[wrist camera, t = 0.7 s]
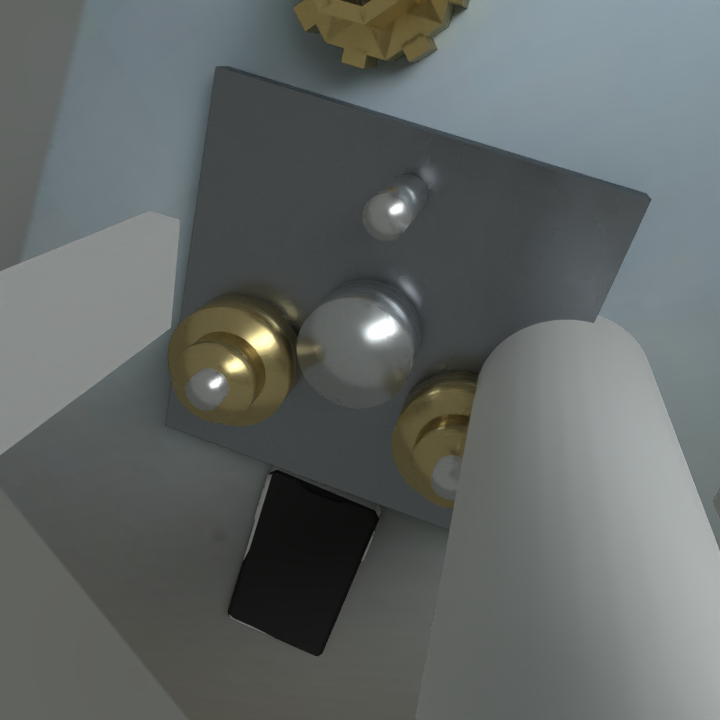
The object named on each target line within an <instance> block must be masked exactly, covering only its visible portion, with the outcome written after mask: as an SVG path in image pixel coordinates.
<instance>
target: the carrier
mask: <svg viewBox="0 0 720 720" xmlns="http://www.w3.org/2000/svg"><path fill="white" fill-rule="evenodd" d="M650 201H651V198H650V197H649V196H648V195H647V194H646V193H643V192H639V191H636V190H633V189H630V188H626V187H623V186H620V185H616V184H613V183H610V182H607V181H603V180H600V179H597V178H593V177H590V176H587V175H584V174H580V173H577V172H574V171H570V170H567V169H564V168H561V167H557V166H554V165H551V164H547V163H544V162H541V161H538V160H534V159H531V158H528V157H524V156H521V155H518V154H515V153H511V152H508V151H505V150H501V149H498V148H495V147H492V146H488V145H485V144H482V143H478V142H475V141H472V140H469V139H465V138H462V137H459V136H455V135H452V134H449V133H446V132H442V131H439V130H436V129H432V128H429V127H426V126H423V125H419V124H416V123H413V122H409V121H406V120H403V119H400V118H396V117H393V116H390V115H386V114H383V113H380V112H377V111H373V110H370V109H367V108H363V107H360V106H357V105H354V104H350V103H347V102H344V101H340V100H337V99H334V98H331V97H327V96H324V95H321V94H317V93H314V92H311V91H308V90H304V89H301V88H298V87H294V86H291V85H288V84H285V83H281V82H278V81H275V80H271V79H268V78H265V77H262V76H258V75H255V74H252V73H248V72H245V71H242V70H238V69H235V68H232V67H229V66H219V67H216V69H215V77H214V84H213V91H212V98H211V105H210V112H209V119H208V126H207V134H206V141H205V148H204V155H203V162H202V169H201V176H200V183H199V191H198V198H197V205H196V212H195V219H194V226H193V233H192V240H191V247H190V255H189V262H188V269H187V276H186V283H185V290H184V297H183V304H182V312H181V319H180V324H179V326H178V327H177V328H176V329H175V331H174V333H173V335H172V337H171V340H170V343H169V348H168V364H169V369H170V373H171V376H172V383H171V390H170V397H169V404H168V411H167V418H166V426H168V427H171V428H174V429H176V430H179V431H182V432H185V433H187V434H190V435H193V436H195V437H198V438H201V439H204V440H206V441H209V442H212V443H214V444H217V445H220V446H222V447H225V448H228V449H231V450H233V451H236V452H239V453H241V454H244V455H247V456H250V457H252V458H255V459H258V460H260V461H263V462H266V463H269V464H271V465H274V466H277V467H279V468H282V469H285V470H288V471H290V472H293V473H296V474H298V475H301V476H304V477H307V478H309V479H312V480H315V481H317V482H320V483H323V484H326V485H328V486H331V487H334V488H336V489H339V490H342V491H345V492H347V493H350V494H353V495H355V496H358V497H361V498H363V499H366V500H369V501H372V502H374V503H377V504H380V505H382V506H385V507H388V508H391V509H393V510H396V511H399V512H401V513H404V514H407V515H410V516H412V517H415V518H418V519H420V520H423V521H426V522H429V523H431V524H434V525H437V526H439V527H442V528H445V529H448V530H450V525H451V520H452V514H453V509H454V503H455V498H456V492H457V487H458V481H459V476H460V470H461V465H462V459H463V454H464V448H465V443H466V437H467V432H468V426H469V421H470V416H471V410H472V405H473V400H474V397H475V393H476V388H477V382H478V377H479V373H480V371H481V368H482V366H483V364H484V362H485V361H486V359H487V358H488V357H489V355H490V354H491V353H492V351H493V350H494V349H495V348H496V347H497V346H498V345H499V344H500V343H502V342H503V341H504V340H505V339H506V338H508V337H509V336H511V335H513V334H514V333H516V332H518V331H519V330H521V329H524V328H526V327H529V326H531V325H534V324H537V323H541V322H547V321H552V320H579V321H585V322H591V323H594V322H595V320H596V318H597V316H598V314H599V311H600V309H601V307H602V305H603V303H604V301H605V299H606V296H607V294H608V292H609V290H610V288H611V286H612V283H613V281H614V279H615V277H616V275H617V273H618V270H619V268H620V266H621V264H622V262H623V260H624V257H625V255H626V253H627V251H628V249H629V247H630V244H631V242H632V240H633V238H634V236H635V234H636V232H637V229H638V227H639V225H640V223H641V221H642V219H643V216H644V214H645V212H646V210H647V208H648V206H649V203H650Z"/></svg>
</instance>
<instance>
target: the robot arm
mask: <svg viewBox="0 0 720 720" xmlns="http://www.w3.org/2000/svg"><path fill="white" fill-rule="evenodd" d="M179 229H180V220H179V219H176V218H172V217H169V216H165V215H162V214H159V213H155V212H152V211H148V212H145V213H143V214H140V215H138V216H135V217H133V218H130V219H128V220H126V221H123V222H121V223H118V224H116V225H113V226H111V227H108V228H106V229H103V230H101V231H98V232H96V233H93V234H91V235H89V236H86V237H84V238H81V239H79V240H76V241H74V242H71V243H69V244H66V245H64V246H61V247H59V248H56V249H54V250H52V251H49V252H47V253H44V254H42V255H39V256H37V257H34V258H32V259H29V260H27V261H24V262H22V263H19V264H17V265H15V266H12V267H10V268H7V269H5V270H2V271H0V455H1V454H2V453H4V452H5V451H6V450H8V449H9V448H10V447H12V446H13V445H14V444H16V443H17V442H18V441H20V440H21V439H23V438H24V437H25V436H27V435H28V434H29V433H31V432H32V431H33V430H35V429H36V428H37V427H39V426H40V425H41V424H43V423H44V422H45V421H47V420H48V419H49V418H51V417H52V416H53V415H55V414H56V413H57V412H59V411H60V410H61V409H63V408H64V407H65V406H67V405H68V404H69V403H71V402H72V401H73V400H75V399H76V398H77V397H79V396H80V395H82V394H83V393H84V392H86V391H87V390H88V389H90V388H91V387H92V386H94V385H95V384H96V383H98V382H99V381H100V380H102V379H103V378H104V377H106V376H107V375H108V374H110V373H111V372H112V371H114V370H115V369H116V368H118V367H119V366H120V365H122V364H123V363H124V362H126V361H127V360H128V359H130V358H131V357H132V356H134V355H135V354H136V353H138V352H139V351H141V350H142V349H143V348H145V347H146V346H147V345H149V344H150V343H151V342H153V341H154V340H155V339H157V338H158V337H159V336H161V335H162V334H163V333H165V332H166V331H167V330H169V329H170V328H171V319H172V308H173V297H174V286H175V274H176V263H177V252H178V241H179ZM713 502H714V505H715V507H716V510H717V513H718V515H719V518H720V489H719V491H718V493H717V495H716V496H715V498H714V500H713Z"/></svg>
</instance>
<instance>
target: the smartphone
mask: <svg viewBox="0 0 720 720" xmlns="http://www.w3.org/2000/svg"><path fill="white" fill-rule="evenodd" d="M381 512H382V511H381V509H380V507H379V504H377V503H374V502H372V501H369V500H366V499H363V498H361V497H358V496H355V495H353V494H350V493H347V492H345V491H342V490H339V489H336V488H334V487H331V486H328V485H326V484H323V483H320V482H317V481H315V480H312V479H309V478H307V477H304V476H301V475H298V474H296V473H293V472H290V471H288V470H285V469H282V468H279V467H277V466H273V468H272V469H271V471H269V473H268V475H267V478H266V482H265V487H264V488H263V490H262V494H261V497H260V500H259V504H258V507H257V510H256V514H255V517H254V520H255V522H254V526H253V529H252V532H251V536H250V539H249V542H248V546H247V549H246V552H245V556H244V559H243V562H242V566H241V569H240V572H239V576H238V579H237V583H236V586H235V589H234V593H233V596H232V599H231V603H230V606H229V609H228V615H229V617H230V618H231V619H233V620H236V621H238V622H240V623H242V624H245V625H247V626H249V627H251V628H254V629H256V630H258V631H260V632H263V633H265V634H267V635H269V636H272V637H274V638H276V639H279V640H281V641H283V642H285V643H288V644H290V645H292V646H294V647H297V648H299V649H301V650H303V651H306V652H308V653H310V654H312V655H315V656H319V655H321V654H322V653H323V650H324V648H325V646H326V643H327V641H328V639H329V636H330V634H331V631H332V629H333V627H334V624H335V622H336V620H337V617H338V615H339V613H340V610H341V608H342V605H343V603H344V601H345V598H346V596H347V594H348V591H349V589H350V586H351V584H352V582H353V579H354V577H355V575H356V572H357V570H358V567H359V565H360V563H361V560H363V561H364V558H365V556H366V554H367V551H368V549H369V547H370V544H371V542H372V540H373V537H374V535H375V532H376V531H374V529H375V527H376V525H377V522H378V520H379V517H380V515H381Z"/></svg>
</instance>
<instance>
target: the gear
mask: <svg viewBox="0 0 720 720" xmlns="http://www.w3.org/2000/svg"><path fill="white" fill-rule="evenodd" d="M469 1H470V0H371V1H369V2H368V3H366V4H365V5H363V6H362V4H361V2H360V0H303V1H302V2H301V3H299V4H298V5H297V6H295V7H294V8H293V9H294V11H295V13H296V15H297V17H298V19H299V21H300V23H301V24H302V26H303V28H304V30H305V31H306V32H313V33H320V34H321V35H322V37H323V38H324V40H325V42H326V43H328V44H332V45H335V46H338V47H342V48H344V51H343V56H342V60H341V62H342V63H346V64H349V65H352V66H356V67H359V68H362V69H374V68H375V67H376V63H377V59H378V58H379V59H382V60H389V61H396V60H397V59H399V58H401V57H402V56H404V55H406V57H407V59H408V61H409V62H418V61H420V60H422V59H423V58H425V57H426V56H428V55H430V54H431V53H433V52H434V51H436V50H437V47H436V45H435V43H434V41H433V39H432V37H433V36H435V35H436V34H438V33H439V32H441V31H442V30H444V29H446V28H447V27H449V24H450V20H451V17H452V13H453V10H454V6H459V7H462V8H466V9H467V8H468V4H469Z"/></svg>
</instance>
